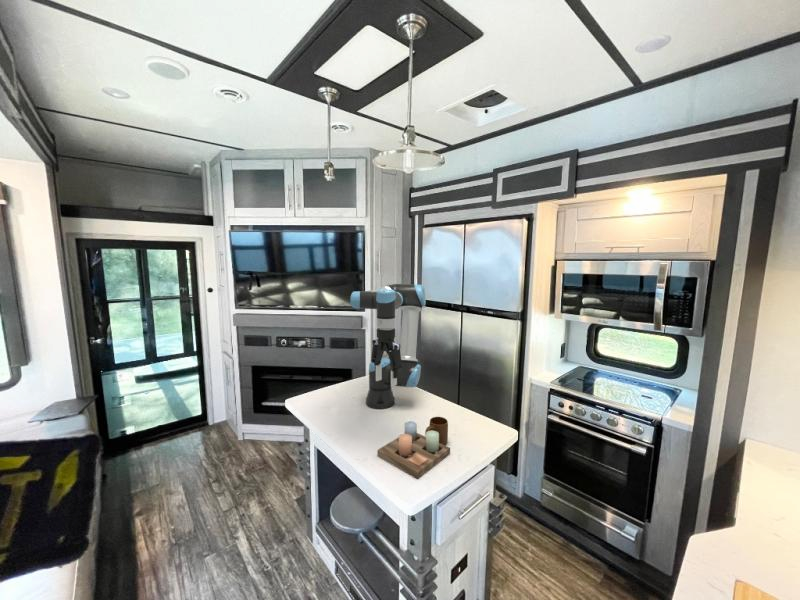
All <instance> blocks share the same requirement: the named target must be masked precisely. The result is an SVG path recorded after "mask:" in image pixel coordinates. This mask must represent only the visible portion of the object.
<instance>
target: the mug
mask: <svg viewBox="0 0 800 600" xmlns="http://www.w3.org/2000/svg"><path fill="white" fill-rule="evenodd" d="M431 430H432V431H437V432H438V433H439V443H440V444H443V445H445V446H447V443H448V440H449V437H448V436H449V421H448V419H447V418H445V417H443V416H433V417H431V418H430V419H429V426H427V427H426V429H425V432H424V433H425V434H424V436H426V432H427V431H431Z"/></svg>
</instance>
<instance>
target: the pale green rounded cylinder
mask: <svg viewBox="0 0 800 600" xmlns="http://www.w3.org/2000/svg"><path fill="white" fill-rule="evenodd" d="M425 437H426V450H427V452H429V453H437V451H438V450H439V433H438V432H437V431H432V430H431V431H427V432H426V435H425Z"/></svg>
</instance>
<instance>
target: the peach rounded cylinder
mask: <svg viewBox="0 0 800 600" xmlns="http://www.w3.org/2000/svg"><path fill="white" fill-rule="evenodd" d="M398 437H399V454H400V455H399V456H401V457H410V456H411V454H412V443H413V441H412V436H411V435H409V434H404V433H402V434H400V435H399V436H398Z"/></svg>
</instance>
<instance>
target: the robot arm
mask: <svg viewBox="0 0 800 600" xmlns="http://www.w3.org/2000/svg"><path fill="white" fill-rule="evenodd" d="M426 299H427V298H426V291H425V288H424V286H423V285H422V284H417V283H405V284H404V283H394V284H393V283H392V284H387V285H384V286H380V287H379V288H377V289H376V288H375V289H372V290H367V291H366V290H364V291H360V290H358V291H352V293H351V295H350V301H349V302H350V306H351V307H352V308H353V309H358V310H376V339H373V340H372V349H371V358H370V359H371V360H370V363H369V366H368V392H367V395H366V397H365V405H366V406H367V407H369V408H371V409H374V410H382V409H383V410H384V409H388V408H391V407H392V406H394V405H395V396H394V394H393V389H392V387H404V388H415V387H417V386H418V383H419V381H420V377H421V373H422V372H421V370H422V366H421V364H419V360H418V359H417V358H416V356H417V346H418V345H417V342H418V328H419V319H420V318H419V315H420V312H421V311H423V307H425V306H426V303H427V302H426ZM399 308H400V309H401V311H402V319H401V320H402V321H401V331H400V343H399V344H397V343H395V338H396V310H398V309H399ZM385 352H386V354H387V355H388V358H387V357H383V355H384V354H385Z"/></svg>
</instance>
